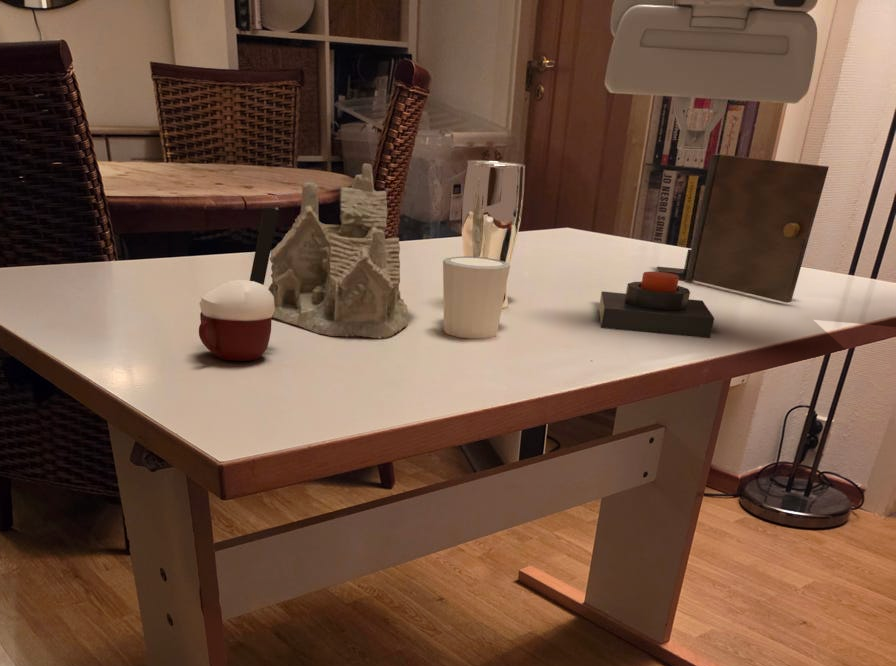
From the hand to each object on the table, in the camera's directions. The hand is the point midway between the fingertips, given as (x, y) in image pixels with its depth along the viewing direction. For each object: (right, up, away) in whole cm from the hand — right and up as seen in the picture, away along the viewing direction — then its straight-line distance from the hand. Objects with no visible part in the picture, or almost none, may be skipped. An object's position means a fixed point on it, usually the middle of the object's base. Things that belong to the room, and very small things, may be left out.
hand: (691, 149), depth 91 cm
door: (+15, -3, +29) cm, 33 cm away
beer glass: (-21, -12, +13) cm, 27 cm away
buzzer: (-2, -15, +9) cm, 18 cm away
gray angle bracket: (+10, +2, +38) cm, 39 cm away
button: (-2, -12, +7) cm, 14 cm away
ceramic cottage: (-38, -18, +2) cm, 42 cm away
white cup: (-23, -20, 0) cm, 31 cm away
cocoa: (-45, -27, -13) cm, 54 cm away
